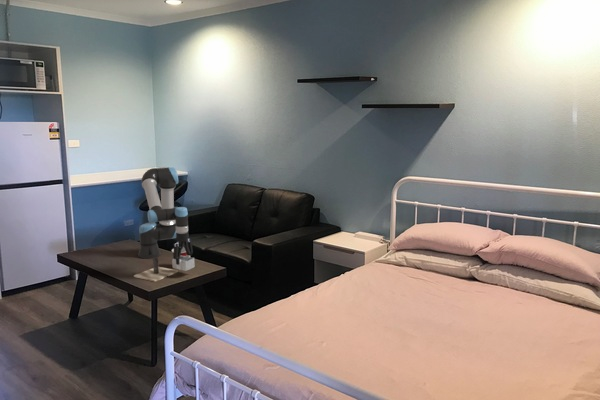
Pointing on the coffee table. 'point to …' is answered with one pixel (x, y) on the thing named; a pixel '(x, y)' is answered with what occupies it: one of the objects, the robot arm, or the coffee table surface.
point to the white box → (184, 263)
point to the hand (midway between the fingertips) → (183, 267)
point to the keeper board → (156, 276)
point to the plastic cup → (181, 252)
